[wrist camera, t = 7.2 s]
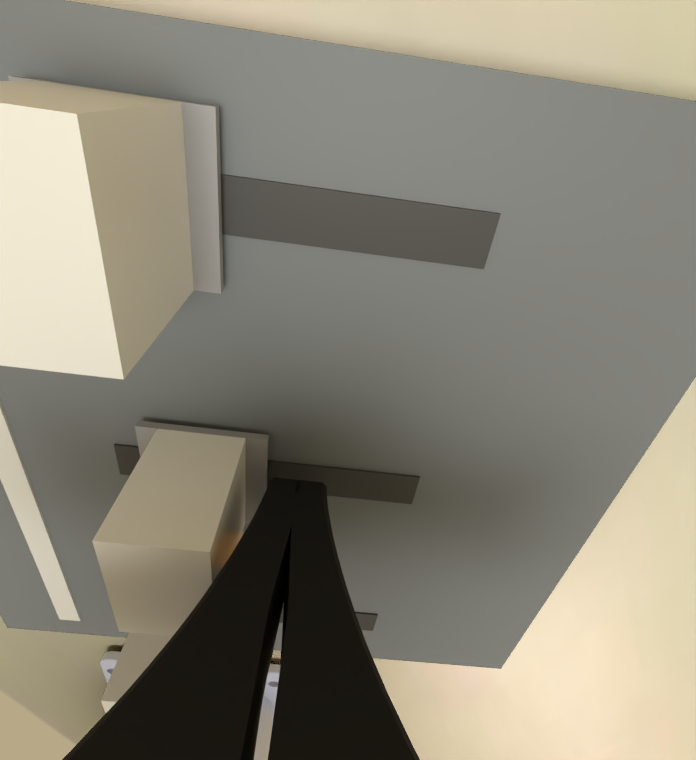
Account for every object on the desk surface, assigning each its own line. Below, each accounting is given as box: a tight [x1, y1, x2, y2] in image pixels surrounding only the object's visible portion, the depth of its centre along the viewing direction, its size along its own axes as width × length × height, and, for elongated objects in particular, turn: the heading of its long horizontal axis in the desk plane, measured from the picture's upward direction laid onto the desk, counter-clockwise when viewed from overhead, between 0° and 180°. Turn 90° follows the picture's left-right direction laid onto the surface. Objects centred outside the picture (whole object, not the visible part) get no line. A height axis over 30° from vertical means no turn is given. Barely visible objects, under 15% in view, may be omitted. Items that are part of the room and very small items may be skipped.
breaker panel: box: [0, 0, 696, 669], centre depth 12 cm, size 18×18×2 cm
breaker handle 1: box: [0, 76, 224, 380], centre depth 6 cm, size 3×3×3 cm
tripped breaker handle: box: [92, 421, 269, 636], centre depth 10 cm, size 3×3×3 cm
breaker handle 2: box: [101, 632, 173, 713], centre depth 13 cm, size 3×3×3 cm
